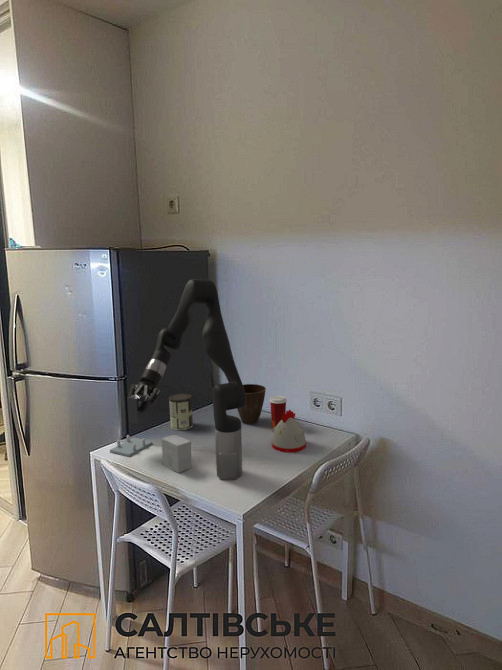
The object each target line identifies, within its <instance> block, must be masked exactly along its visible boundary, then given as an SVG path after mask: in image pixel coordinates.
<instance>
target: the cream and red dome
mask: <svg viewBox="0 0 502 670" xmlns="http://www.w3.org/2000/svg"><path fill="white" fill-rule="evenodd" d="M281 418H282V420H281V421H280V422H279V423H278V425H277V426H276V427H274V428H272V433H273V434H272V436H271V447H272V448H273V449H274V450H276V451H279V452H282V453H297V452H298V453H299V452H301V451H303V450H305V448H306V447H307V442H306V436H305V431H304V430H303V428H302V426H301V424H300V423H299V422H298V421H297V419H295V418H296V413H295V412H294V411H292V410H291V409H288V410H286V413H285V412H283V416H281Z"/></svg>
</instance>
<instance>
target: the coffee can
mask: <svg viewBox="0 0 502 670" xmlns="http://www.w3.org/2000/svg"><path fill="white" fill-rule="evenodd" d="M192 399H193V396H192V394H189V393H185V392H183V393H175V394H174V393H173V394H172V395H170V396H169V397H168V400H169V401H168V402H169V415H170V416H169V417H170V418H169V419H170V429H172V430H175V431H186V430H189V429H191V428H193V427H194V422H193V420H194V419H193V400H192Z"/></svg>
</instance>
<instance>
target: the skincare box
mask: <svg viewBox="0 0 502 670" xmlns="http://www.w3.org/2000/svg"><path fill="white" fill-rule="evenodd" d="M161 452H162V454H161V455H162V456H161V458H162V459H161V460H162V465H163V466H165V467H167V468H168V469H170V470H172V471H174V472H176V473H178V474H179V473H181V472H182V473H183V472H185V471H187V470H189V469H191V468H192V467H193V465H192V462H193V461H192V441H191V440H188V439H186V438H184V437H182V436H179V435H178V434H175V433H174V434H171V435H168V436H164V437H162V438H161Z"/></svg>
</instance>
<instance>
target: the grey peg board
mask: <svg viewBox="0 0 502 670" xmlns="http://www.w3.org/2000/svg"><path fill="white" fill-rule="evenodd" d="M116 443H117V445H116V446H114V447H113V448H111V449H109V452H110V453H111V454H116V455H120V456H124V457H127V458H128V457H129V458H130V457H132V456H133V455H135V454H137V453H138V452H140V451H142V450H144V449H146V448H147V447H150V446H151V445H153V441H152V440H146V438H145V437H144V438H143V437H142V438H137V437H132V438H131V437H130V435H129V434H127V435H126V441H124V442H121V440H120V439H117V440H116Z"/></svg>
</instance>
